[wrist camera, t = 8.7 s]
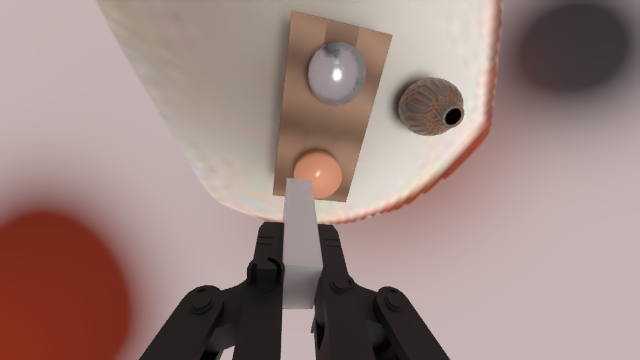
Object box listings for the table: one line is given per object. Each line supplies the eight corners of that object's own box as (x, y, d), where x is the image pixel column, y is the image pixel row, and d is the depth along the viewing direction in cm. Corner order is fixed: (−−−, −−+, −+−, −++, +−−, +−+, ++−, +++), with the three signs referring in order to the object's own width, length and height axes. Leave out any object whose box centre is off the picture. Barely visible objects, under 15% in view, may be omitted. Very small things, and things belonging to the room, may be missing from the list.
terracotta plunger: (296, 134, 30) (297, 152, 25) (337, 140, 31) (346, 159, 26) (291, 172, 33) (291, 196, 27) (328, 176, 34) (336, 200, 28)
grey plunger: (309, 40, 26) (314, 35, 20) (356, 50, 27) (373, 49, 21) (302, 91, 28) (304, 100, 23) (345, 99, 29) (357, 109, 24)
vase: (449, 92, 32) (498, 104, 24) (416, 134, 35) (452, 157, 27) (413, 65, 30) (455, 68, 22) (381, 112, 32) (409, 129, 25)
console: (291, 19, 26) (291, 10, 21) (373, 39, 28) (392, 34, 23) (275, 174, 35) (272, 195, 30) (338, 181, 37) (345, 202, 32)
